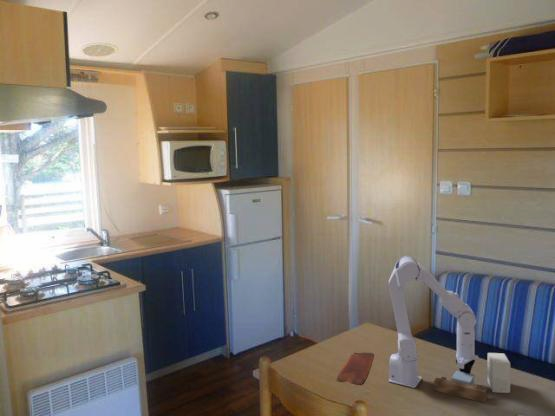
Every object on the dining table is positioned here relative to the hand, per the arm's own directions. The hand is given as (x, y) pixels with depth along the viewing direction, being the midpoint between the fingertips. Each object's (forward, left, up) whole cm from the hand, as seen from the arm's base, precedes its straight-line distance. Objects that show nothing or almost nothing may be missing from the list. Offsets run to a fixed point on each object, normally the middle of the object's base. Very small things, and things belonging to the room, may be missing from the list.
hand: (465, 379), depth 169 cm
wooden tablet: (-38, -6, -2) cm, 38 cm away
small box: (+10, +3, -2) cm, 11 cm away
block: (0, -4, -1) cm, 4 cm away
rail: (0, -8, -1) cm, 8 cm away
